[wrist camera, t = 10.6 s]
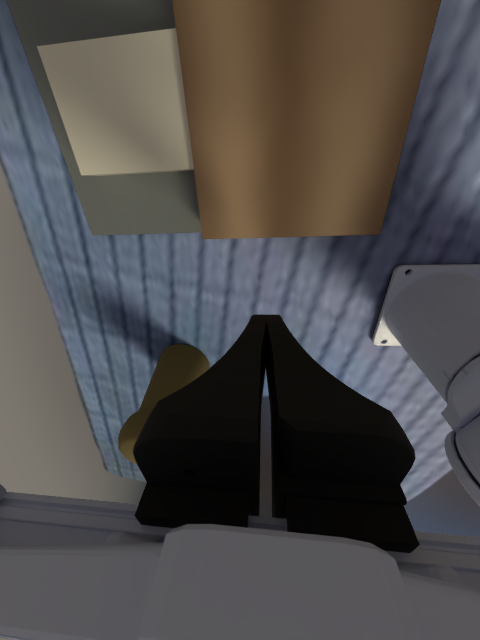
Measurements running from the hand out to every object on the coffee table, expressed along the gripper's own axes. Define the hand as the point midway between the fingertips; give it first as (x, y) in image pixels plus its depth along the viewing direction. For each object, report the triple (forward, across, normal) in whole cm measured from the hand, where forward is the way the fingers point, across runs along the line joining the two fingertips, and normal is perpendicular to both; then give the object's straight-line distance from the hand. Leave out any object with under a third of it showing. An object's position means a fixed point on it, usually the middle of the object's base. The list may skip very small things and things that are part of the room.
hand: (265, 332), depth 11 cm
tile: (+10, +9, -10) cm, 17 cm away
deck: (+10, -2, -10) cm, 14 cm away
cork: (+11, +10, +12) cm, 19 cm away
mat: (+11, +10, -10) cm, 18 cm away
